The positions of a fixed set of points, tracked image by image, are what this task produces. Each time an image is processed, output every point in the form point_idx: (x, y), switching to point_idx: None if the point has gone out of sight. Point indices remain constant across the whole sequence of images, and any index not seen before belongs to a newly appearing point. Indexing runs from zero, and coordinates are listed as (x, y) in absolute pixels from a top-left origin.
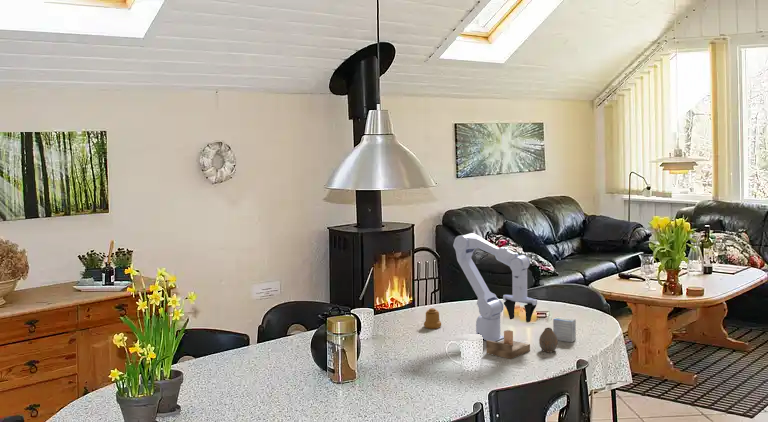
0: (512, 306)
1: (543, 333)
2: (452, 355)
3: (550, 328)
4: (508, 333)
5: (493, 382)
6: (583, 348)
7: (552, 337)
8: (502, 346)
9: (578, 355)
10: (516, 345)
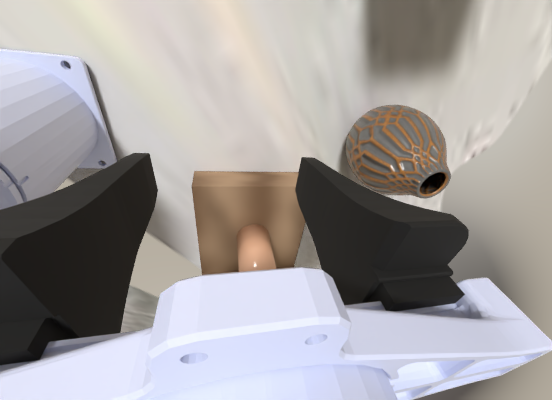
0: (105, 252)
1: (394, 193)
2: (145, 308)
3: (442, 165)
4: None
5: None
6: (522, 7)
7: (427, 179)
8: None
9: (477, 123)
10: (276, 221)
